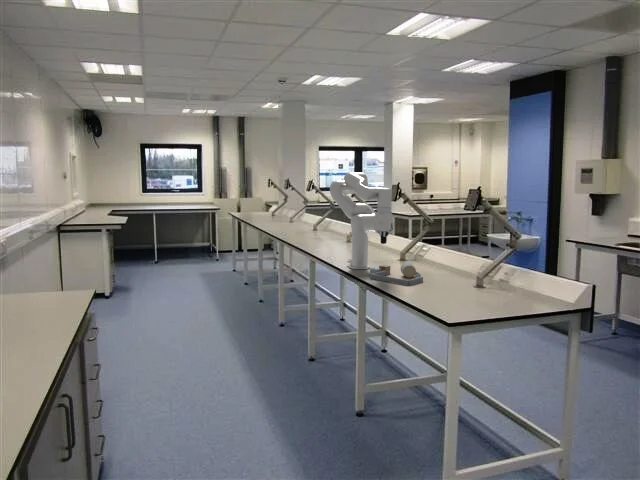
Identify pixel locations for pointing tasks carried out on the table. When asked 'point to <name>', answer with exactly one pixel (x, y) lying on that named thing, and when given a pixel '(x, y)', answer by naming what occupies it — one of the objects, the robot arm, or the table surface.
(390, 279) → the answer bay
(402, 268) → the ceramic mug
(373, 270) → the slate block
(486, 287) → the table surface
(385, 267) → the walnut block
